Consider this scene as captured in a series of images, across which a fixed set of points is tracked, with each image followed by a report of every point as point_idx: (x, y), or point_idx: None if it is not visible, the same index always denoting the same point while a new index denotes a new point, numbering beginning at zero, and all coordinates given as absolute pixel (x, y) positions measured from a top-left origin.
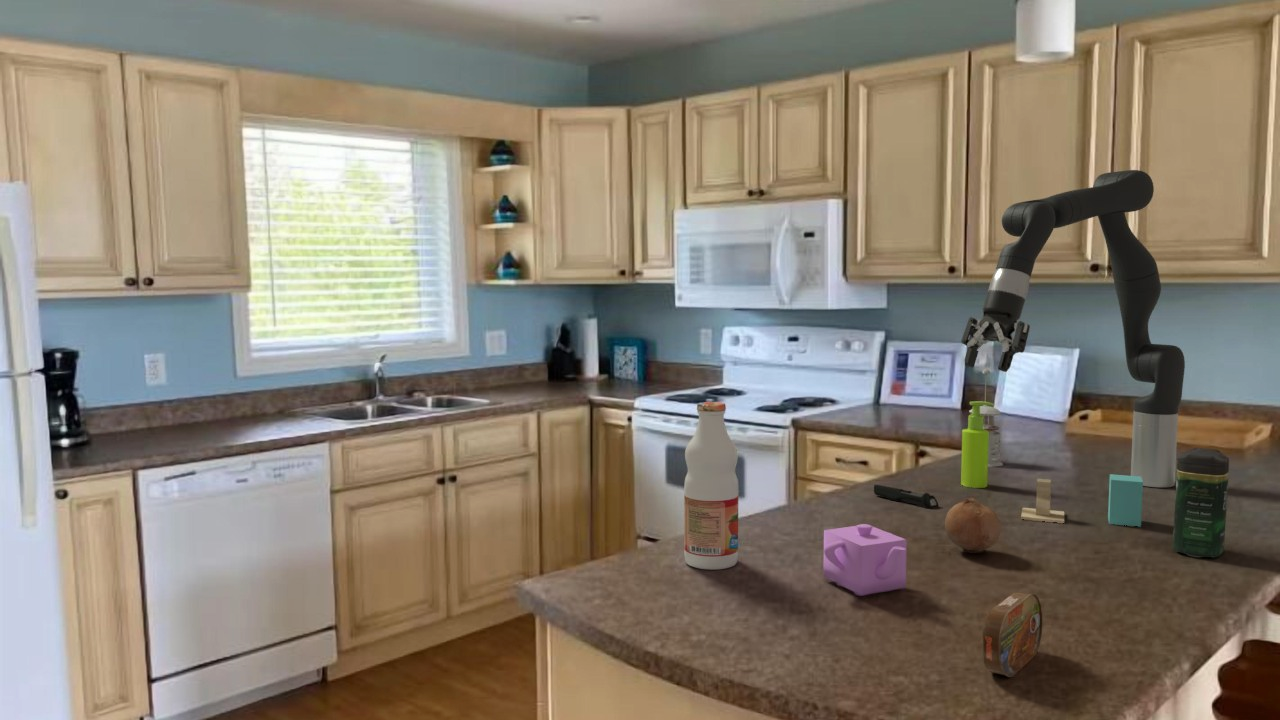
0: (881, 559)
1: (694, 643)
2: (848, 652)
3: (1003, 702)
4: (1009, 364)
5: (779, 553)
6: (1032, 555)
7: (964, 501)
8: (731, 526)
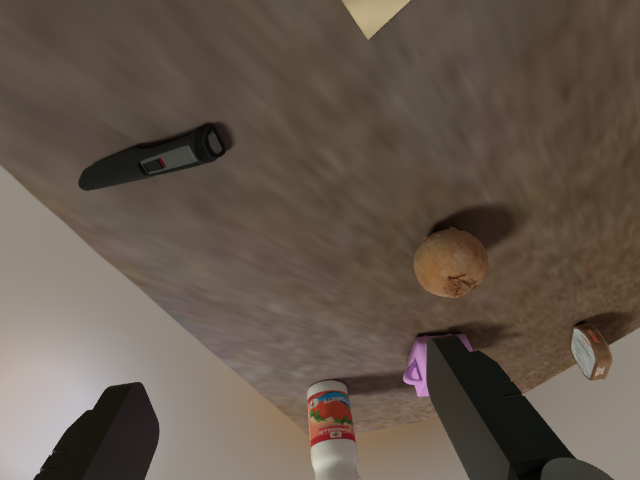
0: None
1: (434, 410)
2: None
3: None
4: (506, 388)
5: (331, 358)
6: (495, 187)
7: (449, 291)
8: (351, 417)
